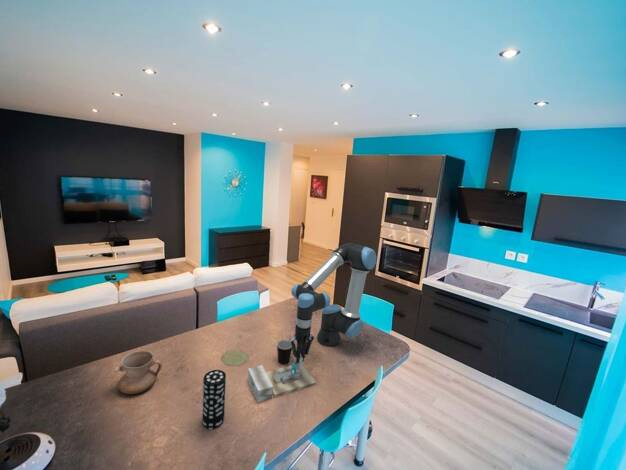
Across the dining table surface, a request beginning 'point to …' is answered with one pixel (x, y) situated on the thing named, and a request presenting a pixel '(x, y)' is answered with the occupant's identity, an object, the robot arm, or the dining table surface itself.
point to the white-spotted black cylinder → (213, 399)
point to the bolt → (287, 373)
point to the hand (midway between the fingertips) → (299, 367)
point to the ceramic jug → (137, 372)
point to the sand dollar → (234, 358)
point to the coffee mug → (284, 351)
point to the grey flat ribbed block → (268, 388)
